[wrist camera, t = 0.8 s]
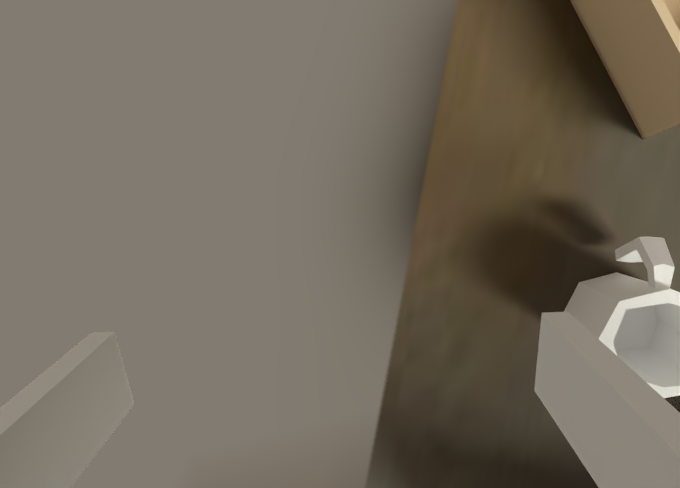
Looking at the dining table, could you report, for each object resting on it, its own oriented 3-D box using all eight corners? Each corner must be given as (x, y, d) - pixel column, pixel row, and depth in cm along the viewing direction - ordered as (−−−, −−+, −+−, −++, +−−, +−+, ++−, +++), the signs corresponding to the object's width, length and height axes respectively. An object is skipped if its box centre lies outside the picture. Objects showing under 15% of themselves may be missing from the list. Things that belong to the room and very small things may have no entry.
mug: (660, 360, 38) (729, 406, 29) (560, 350, 40) (594, 390, 31) (669, 235, 37) (743, 240, 28) (567, 233, 40) (603, 236, 30)
